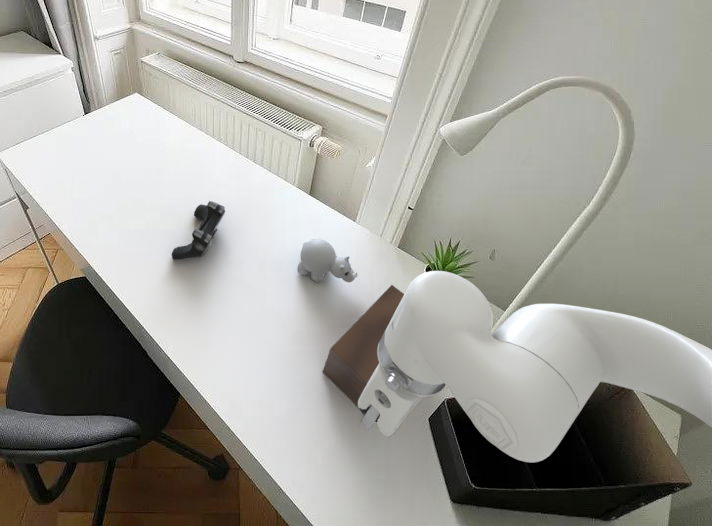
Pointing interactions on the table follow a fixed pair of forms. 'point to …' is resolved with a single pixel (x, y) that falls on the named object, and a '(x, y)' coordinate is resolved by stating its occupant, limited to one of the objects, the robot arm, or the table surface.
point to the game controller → (201, 231)
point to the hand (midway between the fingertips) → (376, 412)
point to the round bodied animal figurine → (324, 261)
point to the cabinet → (361, 347)
